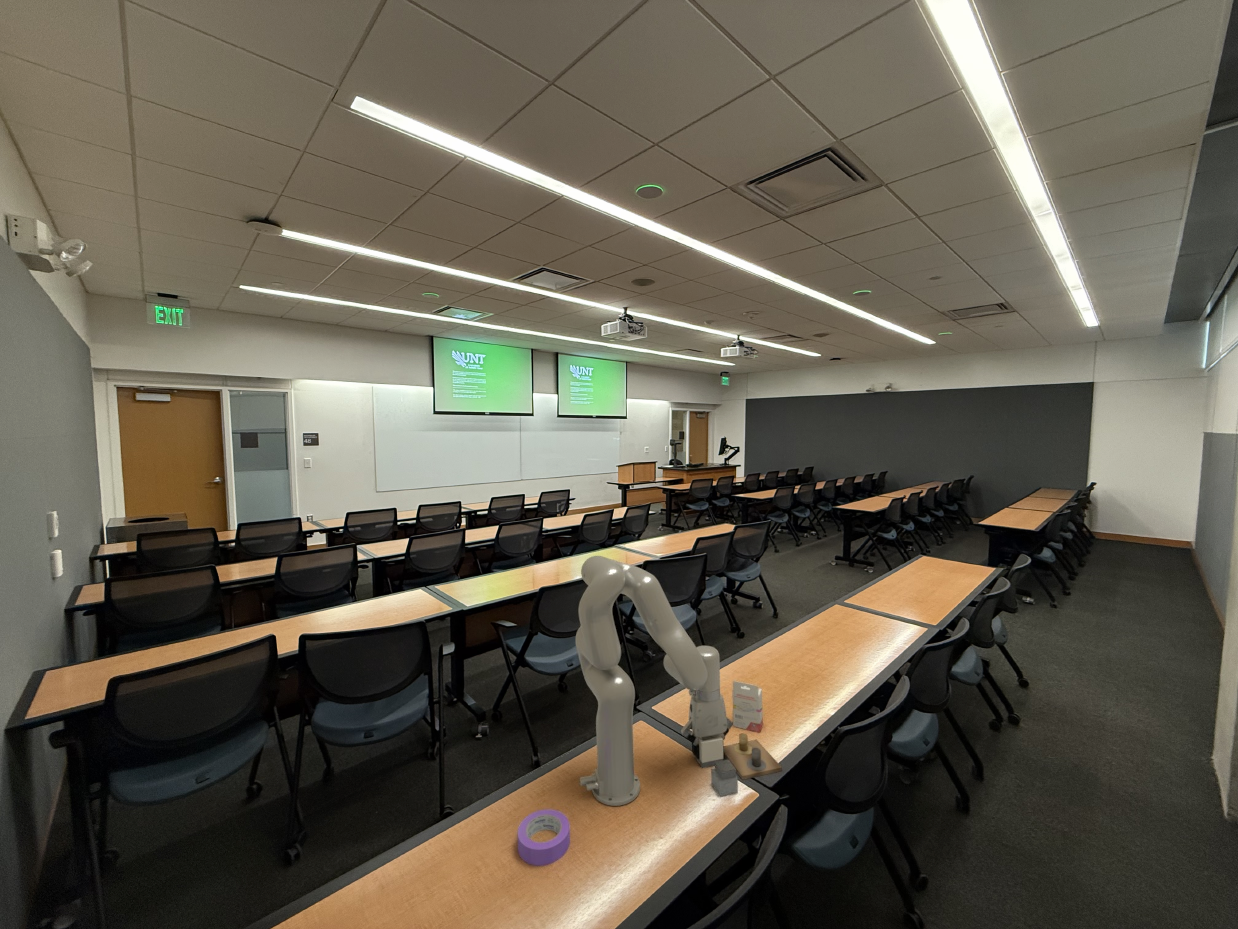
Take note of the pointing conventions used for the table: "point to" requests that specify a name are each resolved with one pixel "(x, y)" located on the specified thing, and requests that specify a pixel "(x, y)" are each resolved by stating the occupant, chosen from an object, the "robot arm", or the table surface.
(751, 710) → the ink cartridge box
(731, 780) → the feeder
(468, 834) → the table surface
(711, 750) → the sleeve
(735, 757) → the board
